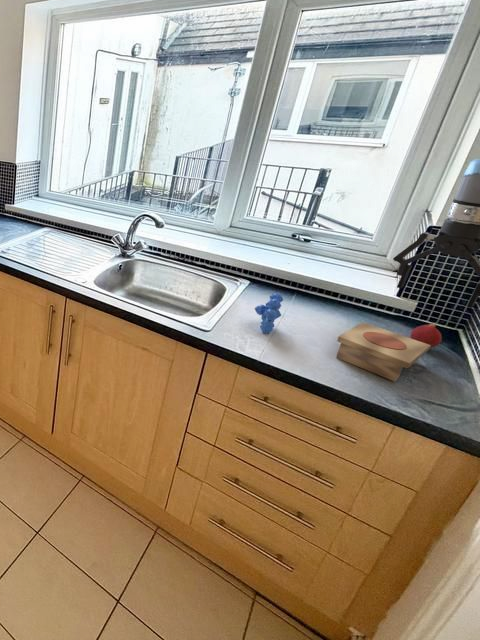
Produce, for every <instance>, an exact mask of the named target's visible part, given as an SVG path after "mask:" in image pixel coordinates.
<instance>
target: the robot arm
mask: <svg viewBox="0 0 480 640" xmlns="http://www.w3.org/2000/svg"><path fill="white" fill-rule="evenodd" d="M461 177H462V178H461V181H460V183H459V186H458V189H457V191H456V193H455V196H454V198H453V200H452V202H451V204H450V207H449V209H448V211H447V213H446V219H444V221H443V223H442V225H441V226H440V227H441V228H440V230H439V232H438V233H437V235H435V234H432V233H430V232H428V231H424V232H422V233H420V234H419V236H418V238H417V239H416V240H415V241H414V242H413V243H411V244H410V245H409V246H407V247H406V248H405V249H403V250H402V251H401V252H399V253H398V254H397V255H395V256H394V257H393V258H392V259H393V261H394V262H397V263H399V267H398V269H397V272H396V274H397V276H399V277H400V278H399V281H398V283H397V286H396V288H397V289H402V288H404V286H405V284H406V281H407V280H408V277H409V274H410V272H411V269H412V268H413V265H412V263H414V262H416V261H419V260H421V259H423V258H426V257H428V256H431V255H433V254H434V253H437V252H439V253H441V254H442V255H446V256H452V257H455V258H465V260H466V261H467V262H468V263H469V265H470V266H471V268H472V269H473V270H474V272H475V274H476V275H477V277H478V278H479V279H480V260H479V257H478V255H477V254H476V252H478V251H480V158H475V159H472V160H471V161H470V162H469V163H468V166H467V168H466V170H465V172H464V173H463V174H462V175H461ZM431 240H433V242H434V244H435V245H436V246H434V247H430V248H429V249H427V250H424V251H422V252H420V253H418V254H415V255H413V256H411V257H409V258H405V257H406V256H408V255H409V254H410V253H411V252H413V251H415V250H416V249H418V247H420V246H421V245H422V244H424V243H425V242H429V241H431ZM479 297H480V281H479V282H477V285H476V287H475V289H474V290H473V293H472V295H471V297H470V299H469V302H468V303H467V305H466V307H467V308H471V309H472V308H473V307H474V306H475V305H476V302H477V300H478V298H479Z"/></svg>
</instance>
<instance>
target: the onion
mask: <svg viewBox="0 0 480 640" xmlns="http://www.w3.org/2000/svg"><path fill="white" fill-rule="evenodd" d="M436 327H437V324H436V323H430V324H423V325H419V326H416V327H415V328H413V329H412V330H411V332H410V337H409V338H411V339H414V340H417V341H420V342H423V343H426V344H429V345H431V346H430V348H435V347H437V346H439V345H440V344H441V343H442V333H441V332H440V330H439V329H438V328H436Z"/></svg>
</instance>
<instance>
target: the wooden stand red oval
mask: <svg viewBox="0 0 480 640" xmlns="http://www.w3.org/2000/svg"><path fill="white" fill-rule="evenodd" d="M336 342H338V343H340V346H339V347H338V351H337V353H336V355H335V358H337V359H339V360H340V361H343V362H345V363H348V364H351V365H353V366H355V367H358V368H361V369H363V370H366V371H368V372H370V373H373V374H375V375H378V376H380V377H382V378H385V379H388V380H390V381H391V382H396V381H398V380H399V378H400V376H401V373H402V371H403V370H404V369H403V368H405V369H408V368H410V367H411V366H414V365H416V364H417V363H418V361H419V359H420V358H421V357H422V356H424V355H425V354H426V353H427V352H429V350H430V346H431V345H429V344H426V343H423V342H420V341H417V340H414V339H411V337H408V336H405V335H402V334H399V333H396V332H393V331H390V330H388V329H385V328H383V327H382V328H381V327H379V326H375V325H372V324H369V323H366V322H365V321H361V322H360V323H358V324H356V325H355V326H353V327H352V328H350V329H349V330H347V331H345V332H344V333H342V334H340V335H339V336H338V337H337V340H336Z"/></svg>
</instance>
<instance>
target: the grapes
mask: <svg viewBox="0 0 480 640" xmlns="http://www.w3.org/2000/svg"><path fill="white" fill-rule="evenodd" d="M283 301H284V298H283V295H282V294H281V293H280V292H273V294H270V295H269V301H267V302H266V303H265V305H264V304H259V305H257V306H256V307H254V310H255V313H256V314H257V315H258V316H261V317H260V319H261V322H260V324H261V325H259V327H260V331H261V332H262V333H263V334H270V333H271V332H273V331H274V328H275V320H277V319H279V318H280V317H282V313H281V312H280V309H281V308H282V302H283Z"/></svg>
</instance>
